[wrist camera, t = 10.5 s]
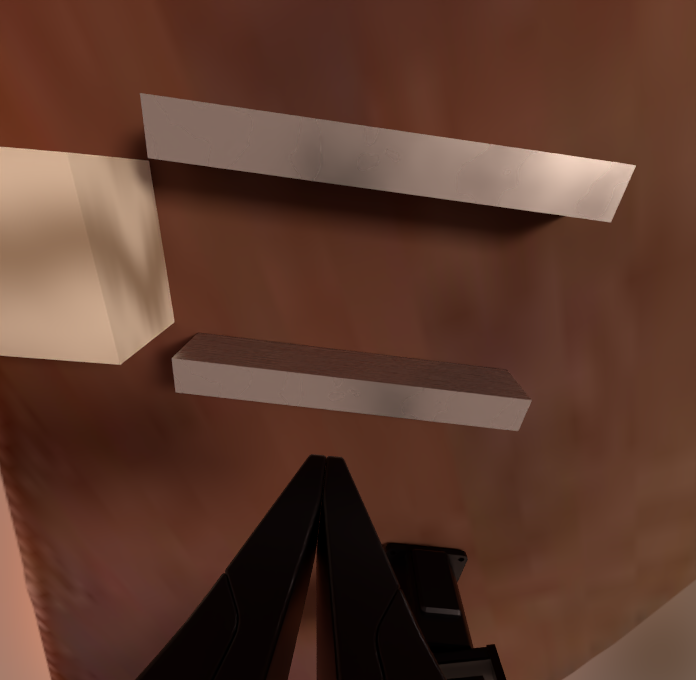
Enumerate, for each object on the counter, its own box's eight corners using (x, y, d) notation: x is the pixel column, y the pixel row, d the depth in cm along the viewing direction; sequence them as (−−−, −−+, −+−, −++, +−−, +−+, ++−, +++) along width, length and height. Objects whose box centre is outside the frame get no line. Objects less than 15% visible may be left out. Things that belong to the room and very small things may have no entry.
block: (176, 320, 19) (120, 364, 14) (33, 309, 19) (-69, 350, 14) (151, 160, 15) (66, 152, 11) (-25, 145, 15) (-185, 130, 11)
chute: (496, 397, 20) (518, 431, 18) (200, 363, 20) (175, 392, 17) (584, 168, 15) (636, 165, 12) (180, 109, 14) (140, 93, 12)
